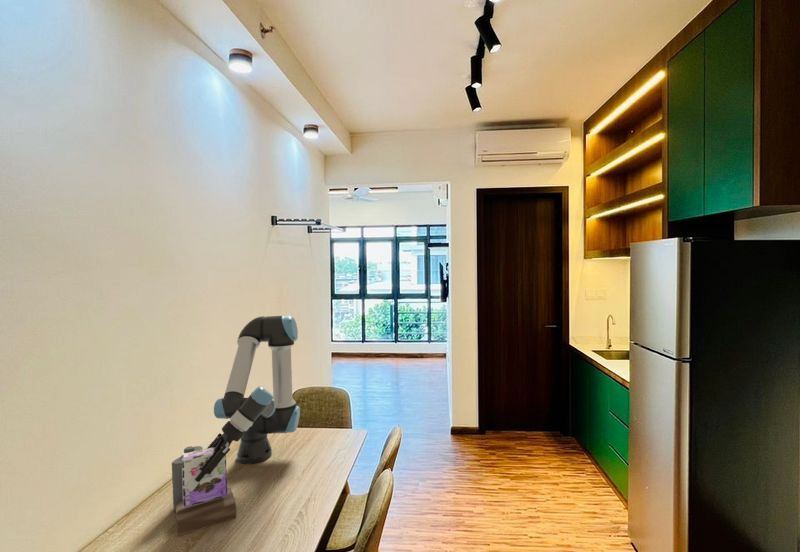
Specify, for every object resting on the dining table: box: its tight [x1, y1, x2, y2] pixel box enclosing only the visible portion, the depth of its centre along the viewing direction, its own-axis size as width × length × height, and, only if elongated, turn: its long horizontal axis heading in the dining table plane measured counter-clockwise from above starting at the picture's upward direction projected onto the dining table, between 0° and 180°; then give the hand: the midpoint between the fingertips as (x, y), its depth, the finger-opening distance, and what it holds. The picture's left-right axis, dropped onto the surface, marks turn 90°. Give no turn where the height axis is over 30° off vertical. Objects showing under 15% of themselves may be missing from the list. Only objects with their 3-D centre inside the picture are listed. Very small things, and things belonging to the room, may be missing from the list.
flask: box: [171, 445, 204, 513], centre depth 152 cm, size 15×6×20 cm, turn 176°
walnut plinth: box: [175, 487, 237, 537], centre depth 141 cm, size 12×18×5 cm, turn 121°
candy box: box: [181, 447, 228, 507], centre depth 141 cm, size 14×6×16 cm, turn 119°
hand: (188, 484), depth 138 cm, fingers closed on candy box, 6 cm apart
